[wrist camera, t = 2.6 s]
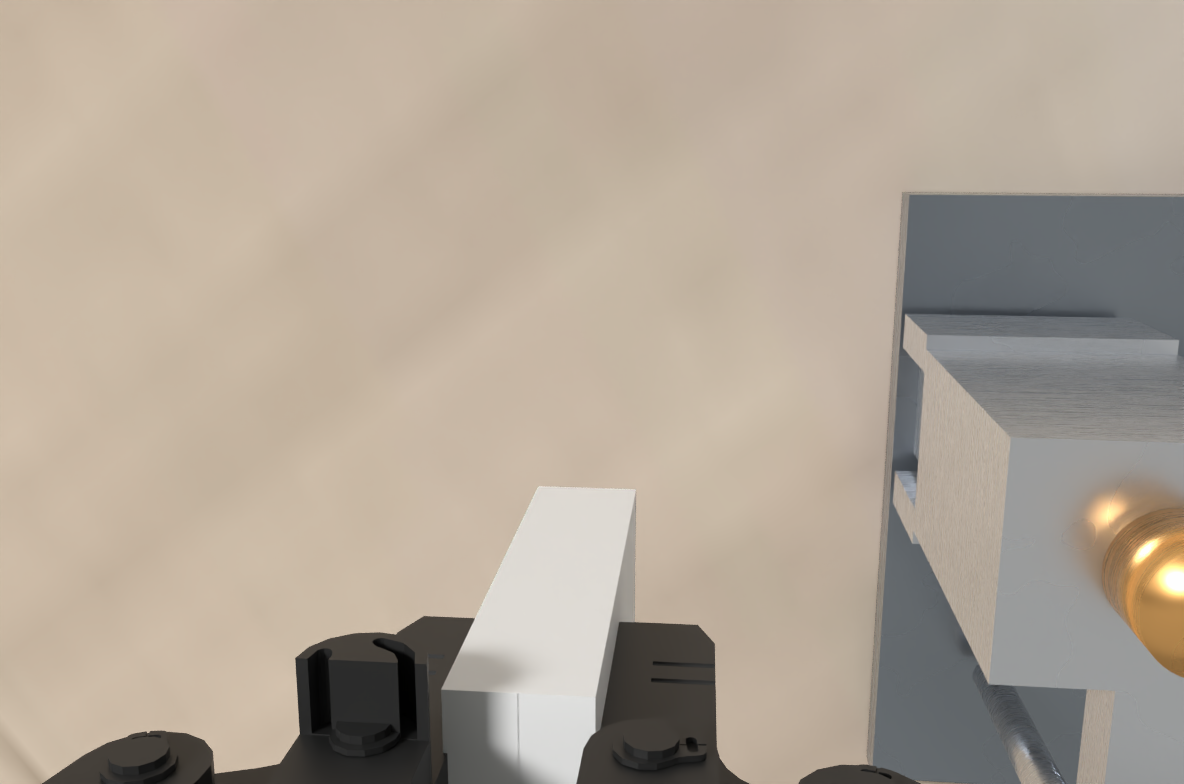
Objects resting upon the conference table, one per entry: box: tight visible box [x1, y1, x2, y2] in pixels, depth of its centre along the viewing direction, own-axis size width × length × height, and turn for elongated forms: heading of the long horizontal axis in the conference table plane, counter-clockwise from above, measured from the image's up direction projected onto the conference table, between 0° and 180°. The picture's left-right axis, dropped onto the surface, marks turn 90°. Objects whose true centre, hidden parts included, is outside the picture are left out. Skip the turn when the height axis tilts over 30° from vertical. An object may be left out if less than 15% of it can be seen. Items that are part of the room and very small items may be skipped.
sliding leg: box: [893, 314, 1184, 784], centre depth 21 cm, size 5×9×11 cm, turn 0°
